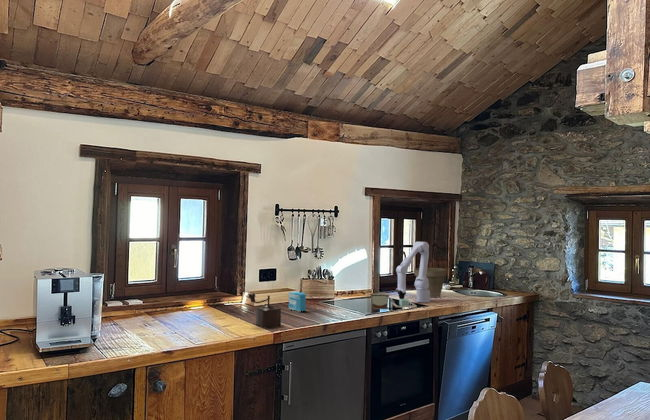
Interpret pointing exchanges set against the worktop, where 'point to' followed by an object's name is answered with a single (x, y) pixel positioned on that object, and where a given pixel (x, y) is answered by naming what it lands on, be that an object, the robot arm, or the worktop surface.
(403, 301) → the painted block
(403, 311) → the worktop surface
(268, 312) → the manual coffee grinder
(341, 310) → the worktop surface
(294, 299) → the light blue box
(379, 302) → the food container
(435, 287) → the plant pot
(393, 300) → the chute
